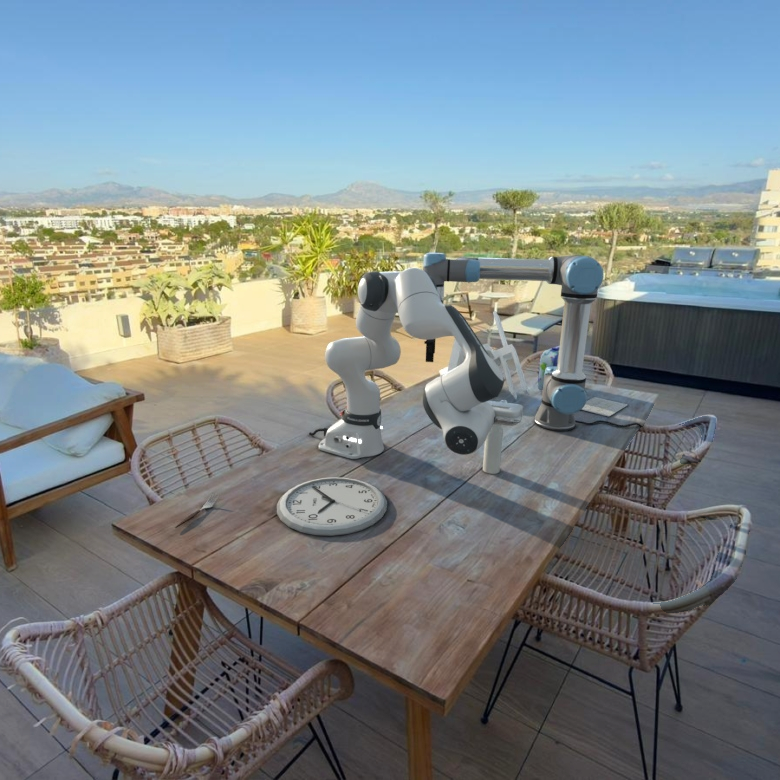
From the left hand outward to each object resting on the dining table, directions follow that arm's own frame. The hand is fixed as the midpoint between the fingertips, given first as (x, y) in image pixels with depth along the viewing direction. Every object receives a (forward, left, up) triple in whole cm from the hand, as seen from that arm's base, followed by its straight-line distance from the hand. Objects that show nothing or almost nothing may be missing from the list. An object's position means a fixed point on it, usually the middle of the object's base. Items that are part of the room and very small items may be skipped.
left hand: (486, 400), depth 137 cm
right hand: (-29, +47, -2) cm, 55 cm away
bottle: (0, +21, -30) cm, 37 cm away
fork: (-68, -34, -30) cm, 82 cm away
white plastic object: (-19, +101, -30) cm, 107 cm away
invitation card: (+34, +102, -30) cm, 111 cm away
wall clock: (-37, -17, -30) cm, 50 cm away
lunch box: (+15, +121, -30) cm, 125 cm away
